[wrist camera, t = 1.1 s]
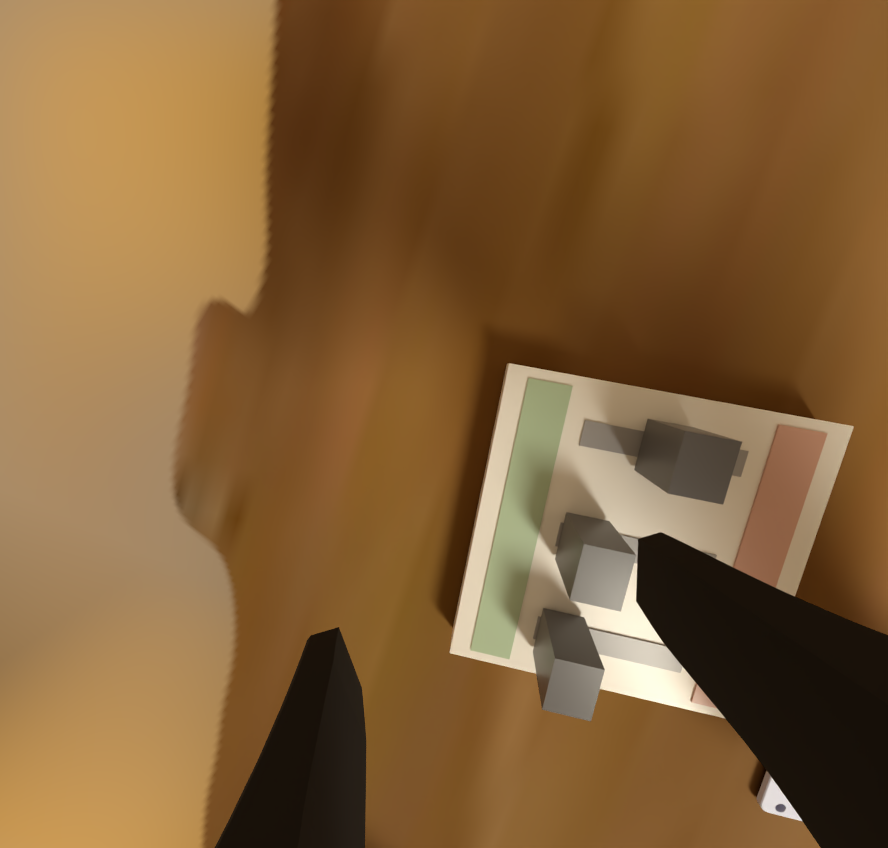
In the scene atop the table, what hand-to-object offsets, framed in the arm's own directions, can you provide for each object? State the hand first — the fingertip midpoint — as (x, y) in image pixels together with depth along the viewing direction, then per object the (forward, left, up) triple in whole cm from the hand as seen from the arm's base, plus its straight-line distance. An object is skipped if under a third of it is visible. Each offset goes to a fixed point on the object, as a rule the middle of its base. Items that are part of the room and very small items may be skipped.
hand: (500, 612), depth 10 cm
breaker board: (-7, +2, -12) cm, 14 cm away
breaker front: (-7, -3, -10) cm, 13 cm away
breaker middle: (-5, +2, -10) cm, 11 cm away
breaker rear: (-5, +7, -10) cm, 13 cm away
